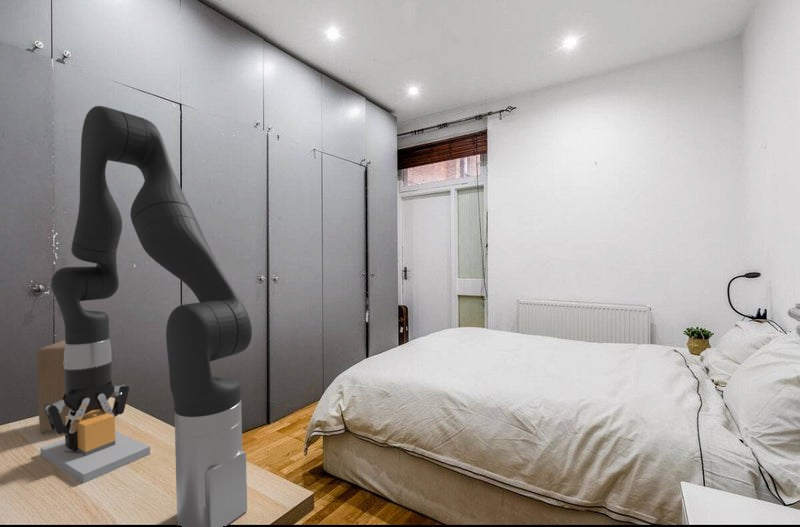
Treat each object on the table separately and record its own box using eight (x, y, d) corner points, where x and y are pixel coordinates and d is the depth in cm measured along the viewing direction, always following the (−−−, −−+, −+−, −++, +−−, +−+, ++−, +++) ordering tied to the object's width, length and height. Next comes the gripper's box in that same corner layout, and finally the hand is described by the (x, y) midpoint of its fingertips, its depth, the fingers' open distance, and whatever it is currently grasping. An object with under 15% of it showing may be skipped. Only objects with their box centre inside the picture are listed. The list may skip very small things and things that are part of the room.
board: (150, 453, 75) (150, 446, 75) (83, 482, 66) (83, 474, 66) (104, 432, 85) (103, 425, 85) (40, 454, 76) (40, 447, 76)
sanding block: (115, 444, 76) (114, 415, 76) (85, 455, 72) (84, 425, 72) (95, 434, 81) (94, 407, 81) (66, 445, 76) (65, 416, 76)
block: (37, 435, 84) (34, 349, 84) (64, 417, 94) (61, 339, 93) (89, 429, 87) (86, 345, 86) (110, 412, 96) (107, 336, 96)
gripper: (50, 375, 68) (52, 465, 68) (136, 356, 80) (138, 432, 81) (34, 369, 72) (37, 455, 72) (119, 352, 84) (121, 425, 85)
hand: (90, 442), depth 76 cm, fingers closed on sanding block, 5 cm apart
